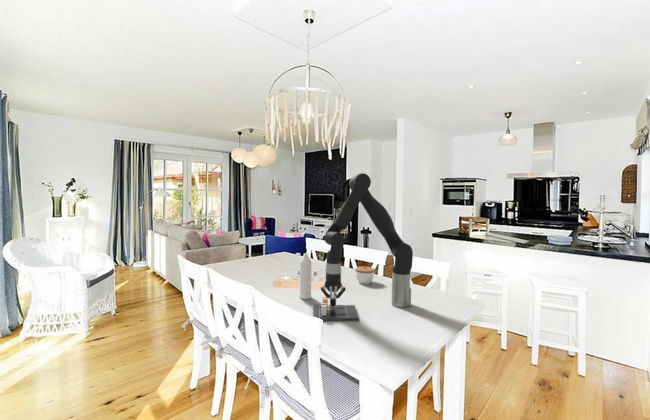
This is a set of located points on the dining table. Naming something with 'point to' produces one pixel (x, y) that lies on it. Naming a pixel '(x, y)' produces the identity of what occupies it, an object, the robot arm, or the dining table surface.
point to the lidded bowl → (364, 274)
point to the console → (337, 313)
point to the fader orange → (325, 301)
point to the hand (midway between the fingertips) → (332, 305)
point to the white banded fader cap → (323, 309)
